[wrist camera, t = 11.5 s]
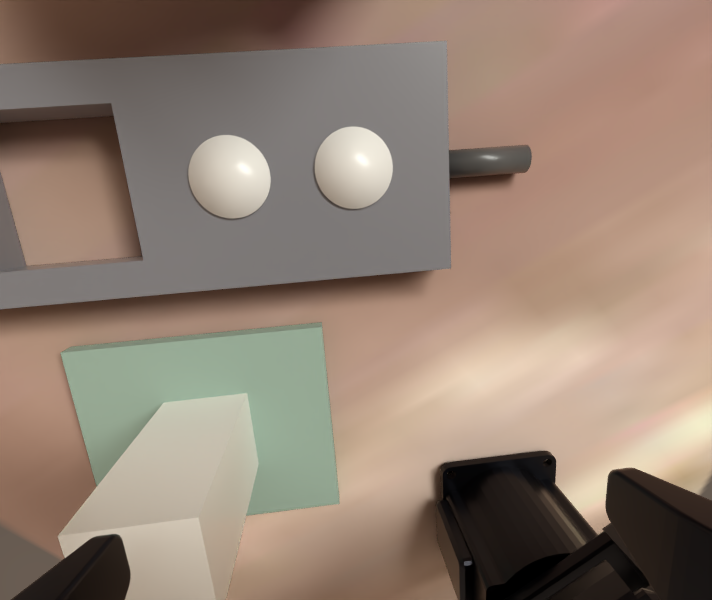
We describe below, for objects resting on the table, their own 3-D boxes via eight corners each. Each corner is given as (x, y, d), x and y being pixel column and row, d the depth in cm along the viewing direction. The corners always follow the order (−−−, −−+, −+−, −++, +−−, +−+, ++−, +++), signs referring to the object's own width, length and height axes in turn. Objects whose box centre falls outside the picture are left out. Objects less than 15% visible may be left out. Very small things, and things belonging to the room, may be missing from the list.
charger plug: (247, 392, 19) (198, 517, 12) (258, 463, 20) (220, 622, 13) (163, 402, 19) (57, 536, 11) (179, 473, 20) (91, 641, 12)
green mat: (321, 322, 20) (321, 327, 19) (338, 493, 22) (339, 503, 21) (70, 346, 19) (60, 352, 18) (116, 521, 21) (109, 533, 21)
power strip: (520, 54, 18) (553, 29, 15) (516, 255, 20) (545, 262, 17) (-157, 91, 16) (-247, 70, 13) (-81, 308, 18) (-146, 325, 16)
